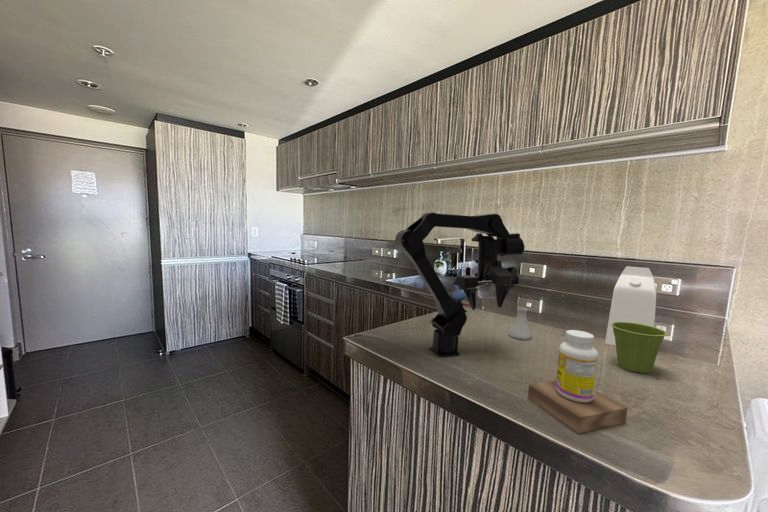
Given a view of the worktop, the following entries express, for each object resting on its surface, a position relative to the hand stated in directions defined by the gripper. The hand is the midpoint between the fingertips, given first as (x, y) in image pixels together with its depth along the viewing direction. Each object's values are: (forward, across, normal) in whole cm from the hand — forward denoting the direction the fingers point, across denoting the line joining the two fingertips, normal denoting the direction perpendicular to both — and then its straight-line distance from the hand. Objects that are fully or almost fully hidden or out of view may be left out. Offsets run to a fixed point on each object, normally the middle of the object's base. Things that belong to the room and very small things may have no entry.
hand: (486, 308), depth 92 cm
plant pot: (+14, +33, -20) cm, 41 cm away
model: (+14, +25, +53) cm, 60 cm away
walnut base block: (+13, -2, -32) cm, 34 cm away
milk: (+15, +52, -6) cm, 55 cm away
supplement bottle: (+10, -2, -32) cm, 33 cm away
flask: (+14, +19, +7) cm, 25 cm away
